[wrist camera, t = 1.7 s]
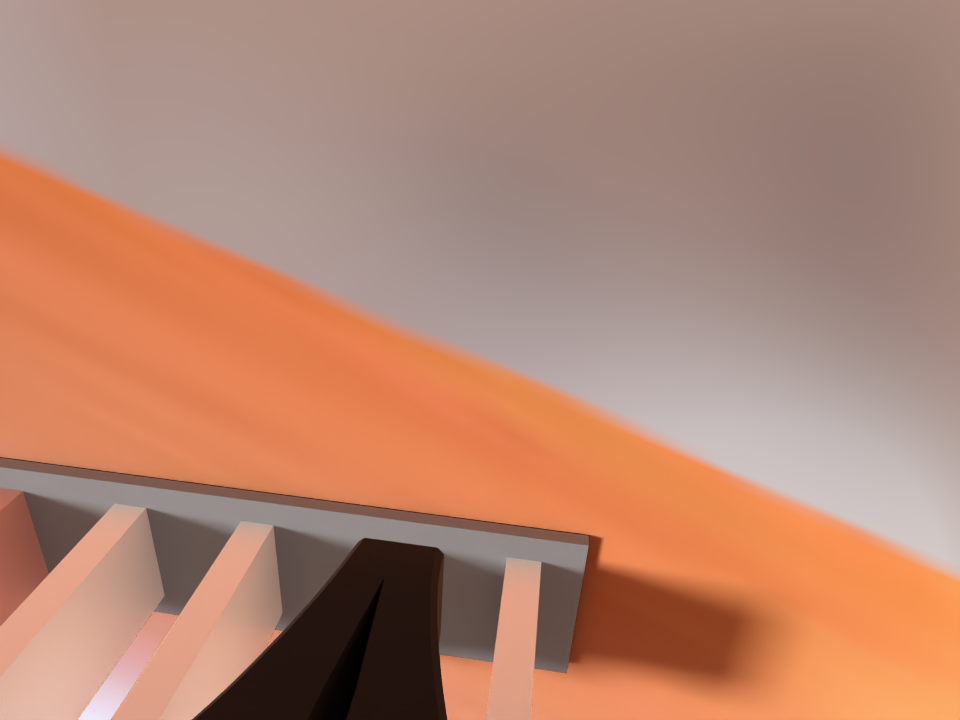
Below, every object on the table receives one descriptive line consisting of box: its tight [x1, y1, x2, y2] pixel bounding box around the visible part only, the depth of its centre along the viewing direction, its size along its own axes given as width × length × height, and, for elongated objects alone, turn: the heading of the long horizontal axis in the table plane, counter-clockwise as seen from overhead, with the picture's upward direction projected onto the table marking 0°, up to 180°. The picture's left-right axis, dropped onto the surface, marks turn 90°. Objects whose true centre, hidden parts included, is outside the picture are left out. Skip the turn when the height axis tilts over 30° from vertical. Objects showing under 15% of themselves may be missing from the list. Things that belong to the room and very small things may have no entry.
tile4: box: [0, 504, 165, 720], centre depth 22 cm, size 1×4×8 cm, turn 177°
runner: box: [0, 458, 589, 673], centre depth 26 cm, size 23×6×1 cm, turn 87°
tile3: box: [111, 521, 283, 720], centre depth 22 cm, size 1×4×8 cm, turn 176°
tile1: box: [486, 557, 541, 720], centre depth 21 cm, size 1×4×8 cm, turn 177°
